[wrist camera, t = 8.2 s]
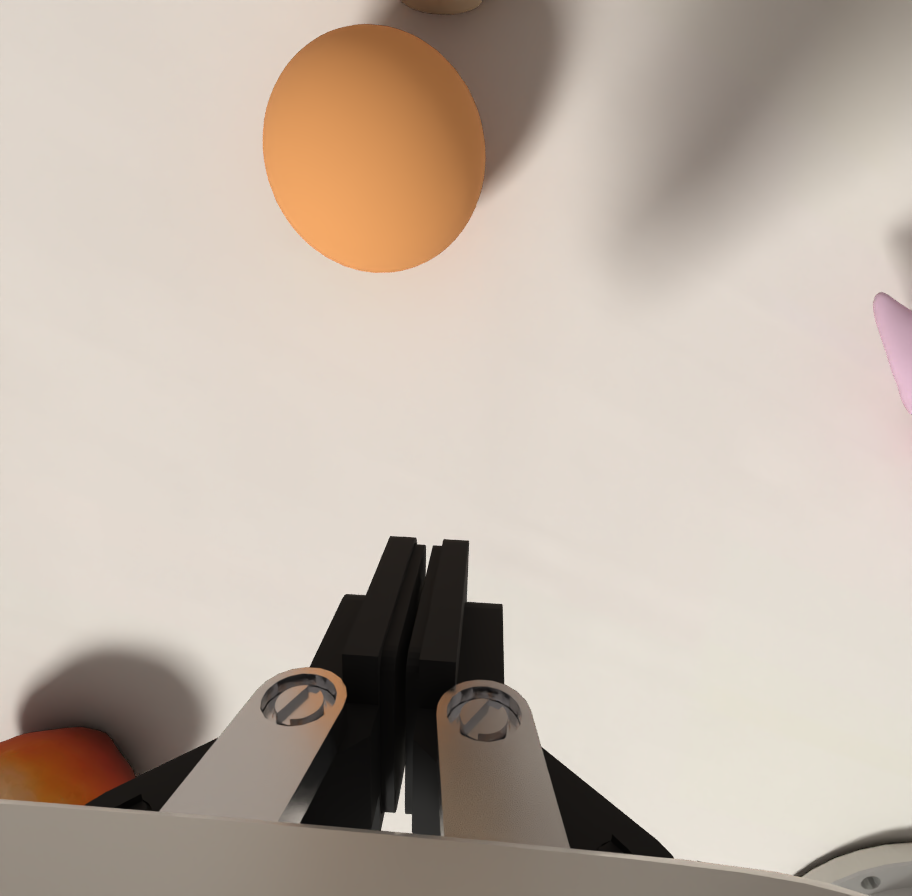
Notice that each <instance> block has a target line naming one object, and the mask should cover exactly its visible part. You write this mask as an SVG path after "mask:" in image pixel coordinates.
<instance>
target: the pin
mask: <svg viewBox="0 0 912 896" xmlns="http://www.w3.org/2000/svg"><path fill="white" fill-rule="evenodd" d="M400 1H401V2H402V3H404V4H405V5H407V6H408V7H410V8H413V9H415V10H418V11H422V12H426V13H433V14H458V13H463V12H467V11H470V10H473V9H475V8H476V7H478V6H479V5H480V4H481V3H482V1H483V0H400Z"/></svg>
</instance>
